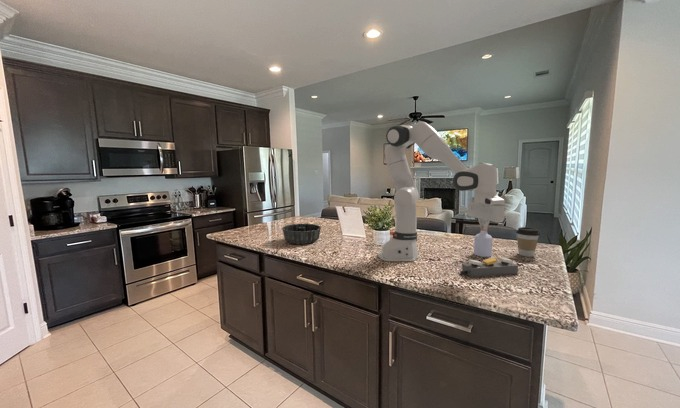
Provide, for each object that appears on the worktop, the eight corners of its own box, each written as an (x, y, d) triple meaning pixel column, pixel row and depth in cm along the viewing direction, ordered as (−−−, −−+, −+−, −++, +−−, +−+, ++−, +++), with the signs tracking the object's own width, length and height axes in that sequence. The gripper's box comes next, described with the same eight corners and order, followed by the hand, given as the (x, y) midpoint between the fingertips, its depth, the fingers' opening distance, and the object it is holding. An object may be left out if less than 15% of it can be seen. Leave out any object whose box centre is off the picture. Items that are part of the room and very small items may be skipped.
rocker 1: (472, 264, 130) (473, 261, 129) (468, 261, 133) (468, 259, 133) (482, 265, 131) (482, 263, 130) (477, 263, 134) (478, 260, 134)
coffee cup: (531, 252, 167) (533, 227, 165) (542, 258, 155) (545, 231, 154) (510, 251, 168) (512, 226, 166) (520, 257, 156) (522, 230, 155)
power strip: (465, 277, 127) (465, 268, 127) (456, 272, 134) (456, 263, 134) (517, 273, 132) (518, 264, 132) (506, 268, 139) (506, 259, 139)
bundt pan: (329, 239, 199) (328, 225, 197) (305, 248, 176) (304, 232, 175) (299, 235, 212) (299, 222, 211) (274, 243, 190) (273, 228, 189)
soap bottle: (473, 255, 160) (475, 212, 157) (474, 251, 168) (476, 210, 165) (491, 258, 156) (494, 213, 153) (491, 253, 164) (493, 211, 161)
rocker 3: (503, 261, 132) (504, 259, 132) (498, 259, 136) (498, 257, 135) (512, 263, 133) (513, 260, 133) (507, 261, 137) (507, 258, 137)
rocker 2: (487, 265, 131) (487, 262, 131) (482, 262, 134) (482, 260, 134) (497, 262, 132) (496, 259, 132) (492, 260, 135) (491, 257, 135)
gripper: (464, 197, 138) (463, 225, 140) (495, 201, 118) (493, 233, 120) (476, 196, 140) (474, 224, 141) (508, 200, 120) (506, 233, 121)
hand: (483, 228), depth 130 cm, fingers closed
